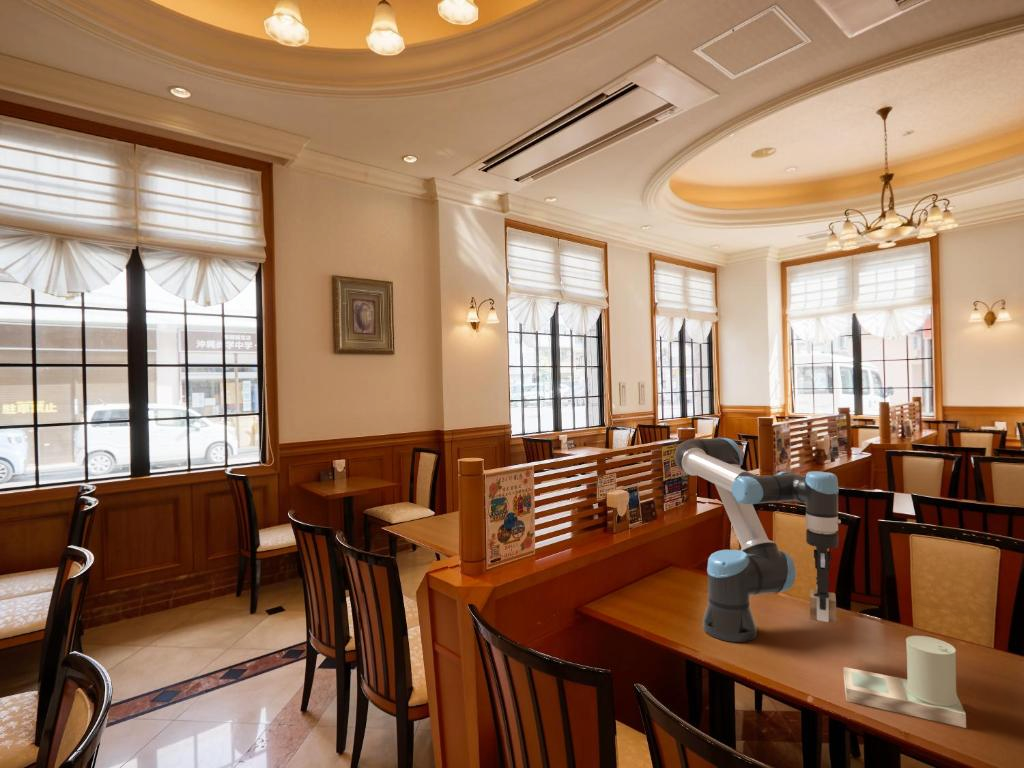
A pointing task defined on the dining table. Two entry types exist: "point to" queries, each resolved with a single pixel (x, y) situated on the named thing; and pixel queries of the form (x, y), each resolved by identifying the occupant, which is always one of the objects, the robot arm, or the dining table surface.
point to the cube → (831, 607)
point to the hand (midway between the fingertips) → (822, 615)
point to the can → (931, 670)
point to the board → (896, 697)
